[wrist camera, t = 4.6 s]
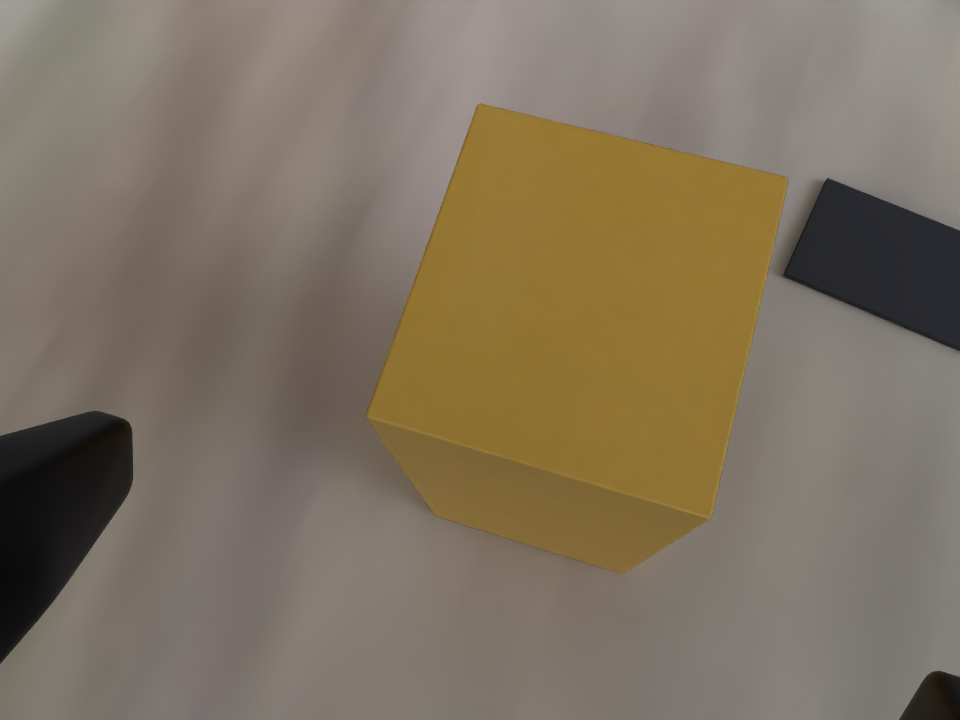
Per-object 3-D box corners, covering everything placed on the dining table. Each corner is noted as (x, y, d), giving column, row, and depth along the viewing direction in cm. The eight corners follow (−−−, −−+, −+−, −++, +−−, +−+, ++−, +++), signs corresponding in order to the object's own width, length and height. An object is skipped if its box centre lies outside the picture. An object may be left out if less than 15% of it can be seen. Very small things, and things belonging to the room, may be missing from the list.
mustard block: (674, 374, 21) (790, 176, 12) (623, 574, 20) (711, 520, 11) (495, 325, 22) (477, 101, 13) (434, 516, 20) (363, 416, 11)
